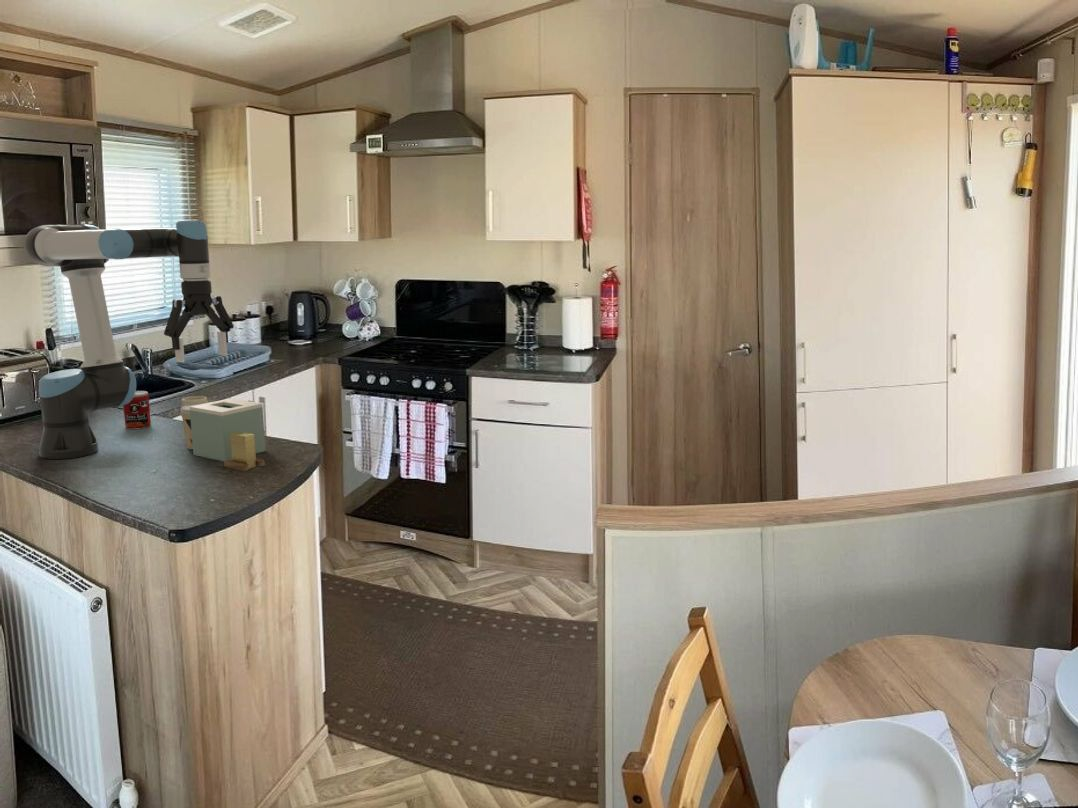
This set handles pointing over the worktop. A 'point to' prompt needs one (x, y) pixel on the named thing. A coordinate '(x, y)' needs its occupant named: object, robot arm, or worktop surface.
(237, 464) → the holder
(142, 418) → the canned food
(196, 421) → the green cube box
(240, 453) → the yellow wooden block
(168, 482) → the worktop surface
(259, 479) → the worktop surface
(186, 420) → the coffee cup
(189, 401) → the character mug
